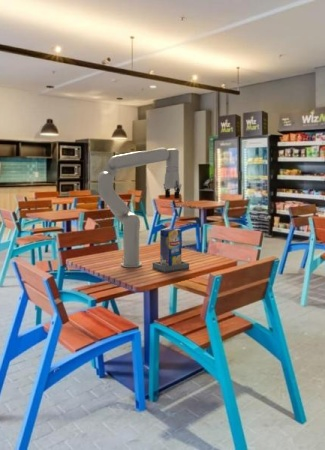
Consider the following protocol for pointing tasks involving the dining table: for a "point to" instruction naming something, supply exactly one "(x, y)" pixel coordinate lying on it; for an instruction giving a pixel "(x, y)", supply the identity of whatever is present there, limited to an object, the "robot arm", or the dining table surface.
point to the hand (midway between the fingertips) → (172, 198)
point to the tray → (170, 267)
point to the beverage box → (170, 246)
